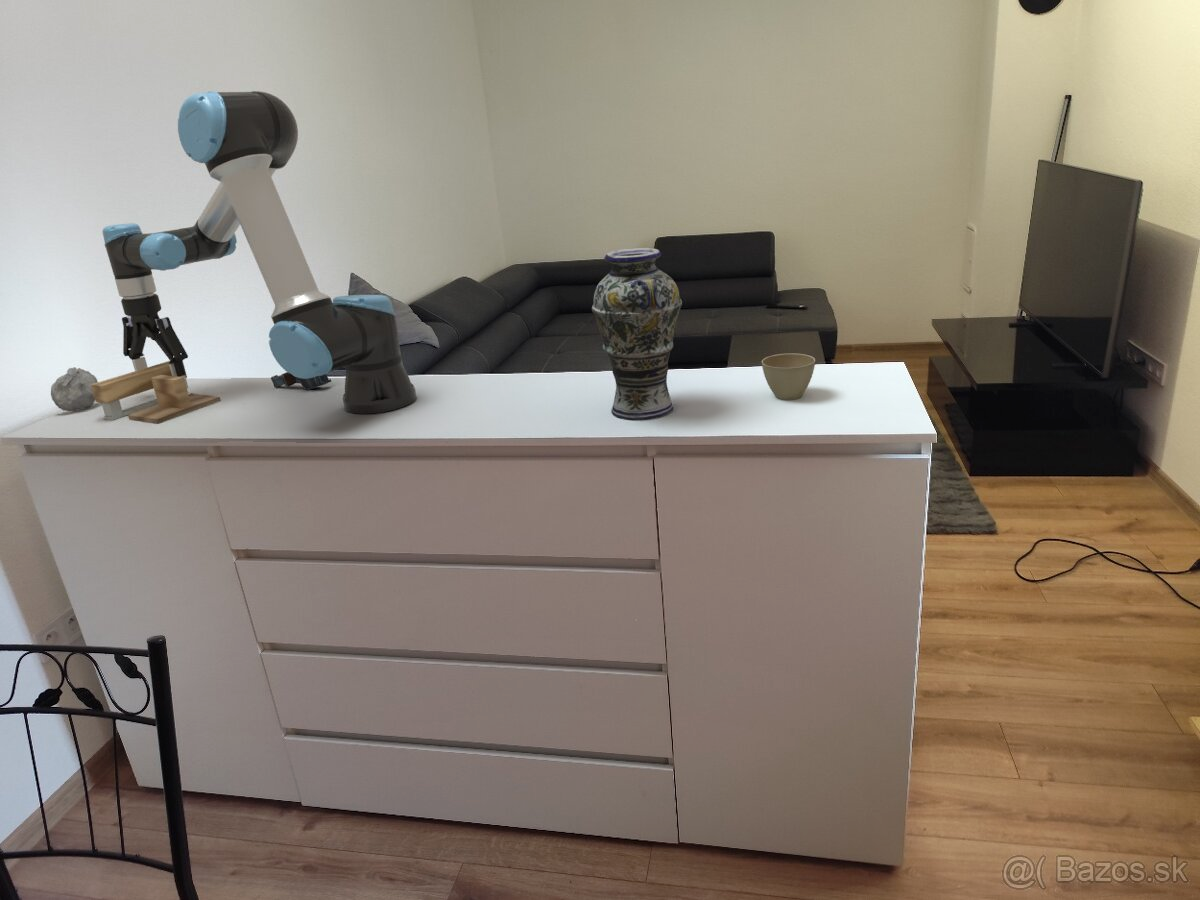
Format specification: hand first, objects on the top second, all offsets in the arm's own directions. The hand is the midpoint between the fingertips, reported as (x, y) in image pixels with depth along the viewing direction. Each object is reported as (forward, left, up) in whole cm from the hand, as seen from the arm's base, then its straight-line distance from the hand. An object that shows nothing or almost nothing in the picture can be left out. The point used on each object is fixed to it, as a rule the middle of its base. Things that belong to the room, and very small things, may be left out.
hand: (163, 387), depth 198 cm
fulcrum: (-10, +5, -3) cm, 12 cm away
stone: (+15, +11, -3) cm, 19 cm away
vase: (-112, -23, -3) cm, 114 cm away
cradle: (0, +5, -3) cm, 6 cm away
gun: (-27, -16, -3) cm, 32 cm away
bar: (0, +5, +1) cm, 5 cm away
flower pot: (-136, -38, -3) cm, 141 cm away
